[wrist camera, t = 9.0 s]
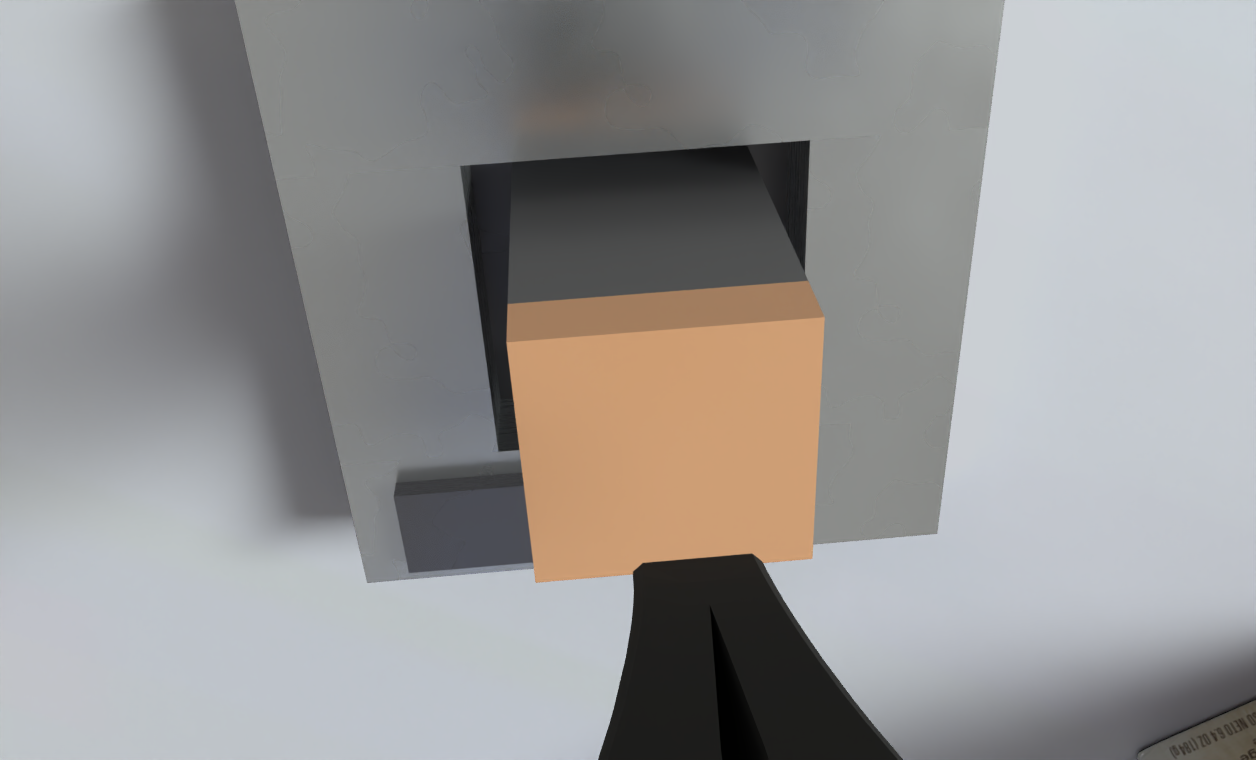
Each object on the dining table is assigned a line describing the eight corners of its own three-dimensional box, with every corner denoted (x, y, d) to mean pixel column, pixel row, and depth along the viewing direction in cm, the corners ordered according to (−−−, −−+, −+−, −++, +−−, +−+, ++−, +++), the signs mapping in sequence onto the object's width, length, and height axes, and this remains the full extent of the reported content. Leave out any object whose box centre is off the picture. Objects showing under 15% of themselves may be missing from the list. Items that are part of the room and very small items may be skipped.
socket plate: (907, 472, 24) (943, 547, 22) (378, 516, 23) (364, 597, 21) (966, -89, 18) (1022, -57, 16) (260, -42, 18) (225, -4, 16)
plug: (745, 347, 22) (812, 559, 16) (533, 363, 21) (535, 583, 16) (746, 145, 19) (824, 317, 14) (512, 163, 19) (506, 342, 14)
